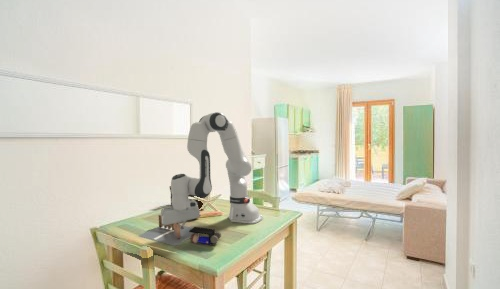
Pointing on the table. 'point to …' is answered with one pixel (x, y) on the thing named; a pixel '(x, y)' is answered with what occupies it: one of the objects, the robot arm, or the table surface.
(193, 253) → the table surface
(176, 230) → the hinged fence panel
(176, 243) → the card
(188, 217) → the robot arm
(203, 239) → the figurine character
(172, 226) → the fixed fence section
